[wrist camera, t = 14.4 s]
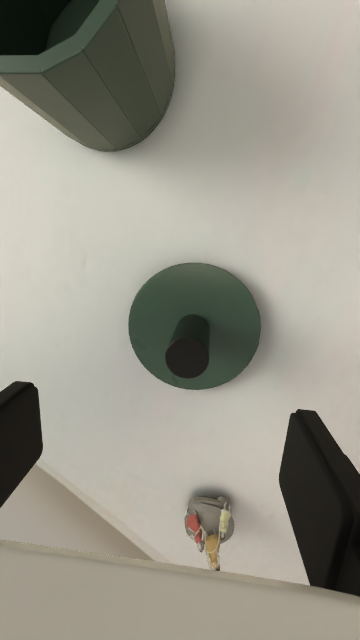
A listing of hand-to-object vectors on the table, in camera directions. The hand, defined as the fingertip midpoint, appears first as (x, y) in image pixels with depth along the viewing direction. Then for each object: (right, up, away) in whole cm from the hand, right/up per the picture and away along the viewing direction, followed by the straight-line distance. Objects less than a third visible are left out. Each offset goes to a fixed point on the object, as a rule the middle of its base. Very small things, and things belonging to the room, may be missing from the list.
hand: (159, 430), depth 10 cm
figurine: (+4, -14, +17) cm, 22 cm away
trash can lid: (+2, +3, +12) cm, 12 cm away
